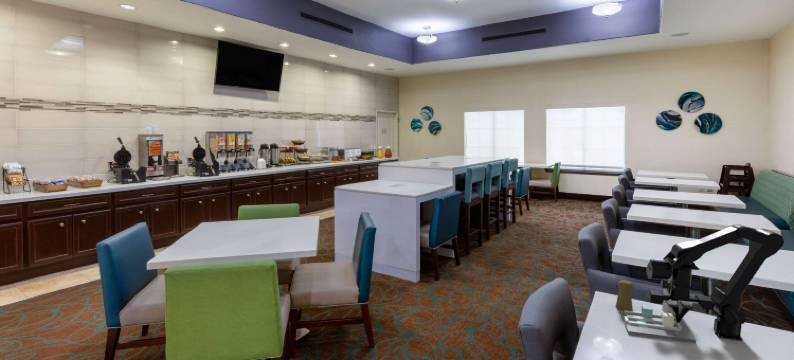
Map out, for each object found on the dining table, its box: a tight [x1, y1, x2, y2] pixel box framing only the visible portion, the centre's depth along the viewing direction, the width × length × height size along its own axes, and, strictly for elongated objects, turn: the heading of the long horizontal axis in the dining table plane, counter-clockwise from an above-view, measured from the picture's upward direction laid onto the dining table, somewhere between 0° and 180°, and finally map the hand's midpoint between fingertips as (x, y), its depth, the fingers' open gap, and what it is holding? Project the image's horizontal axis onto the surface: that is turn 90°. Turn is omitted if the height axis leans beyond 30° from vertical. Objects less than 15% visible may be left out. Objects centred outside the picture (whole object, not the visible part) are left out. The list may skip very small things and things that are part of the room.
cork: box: [615, 279, 634, 312], centre depth 166 cm, size 6×6×11 cm
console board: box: [620, 304, 697, 344], centre depth 150 cm, size 20×16×5 cm
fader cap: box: [661, 311, 675, 327], centre depth 148 cm, size 3×3×4 cm
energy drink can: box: [661, 279, 679, 316], centre depth 159 cm, size 6×6×15 cm
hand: (677, 322), depth 147 cm, fingers closed
